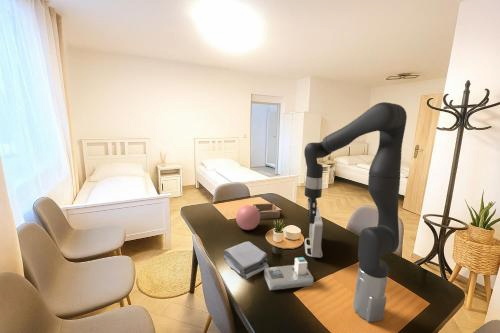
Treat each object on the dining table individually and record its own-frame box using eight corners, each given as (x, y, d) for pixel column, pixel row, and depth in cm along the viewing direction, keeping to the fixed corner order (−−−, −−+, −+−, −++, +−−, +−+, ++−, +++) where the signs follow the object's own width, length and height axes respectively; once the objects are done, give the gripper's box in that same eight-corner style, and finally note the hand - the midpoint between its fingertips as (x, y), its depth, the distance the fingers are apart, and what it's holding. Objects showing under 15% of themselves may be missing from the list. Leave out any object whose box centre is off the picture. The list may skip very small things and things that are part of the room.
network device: (323, 262, 112) (327, 225, 108) (305, 260, 114) (309, 223, 110) (318, 237, 136) (322, 206, 133) (304, 235, 138) (306, 205, 134)
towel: (246, 251, 120) (247, 237, 119) (270, 269, 106) (270, 254, 105) (222, 261, 111) (222, 246, 110) (244, 282, 97) (244, 265, 96)
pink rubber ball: (268, 226, 149) (269, 204, 146) (248, 237, 135) (249, 212, 132) (251, 219, 159) (251, 198, 156) (230, 228, 144) (231, 205, 141)
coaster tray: (279, 217, 163) (279, 211, 162) (257, 219, 160) (257, 212, 159) (272, 209, 179) (273, 203, 178) (252, 210, 176) (253, 204, 175)
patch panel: (312, 286, 96) (313, 277, 95) (269, 291, 92) (270, 282, 91) (303, 271, 105) (304, 263, 104) (263, 275, 101) (264, 267, 100)
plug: (305, 281, 98) (307, 260, 96) (297, 282, 97) (298, 261, 95) (301, 275, 102) (303, 255, 100) (293, 275, 101) (295, 256, 99)
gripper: (324, 191, 95) (321, 226, 98) (320, 183, 109) (317, 214, 112) (306, 189, 97) (303, 225, 99) (304, 182, 110) (302, 213, 113)
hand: (310, 219), depth 106 cm, fingers open, 8 cm apart
